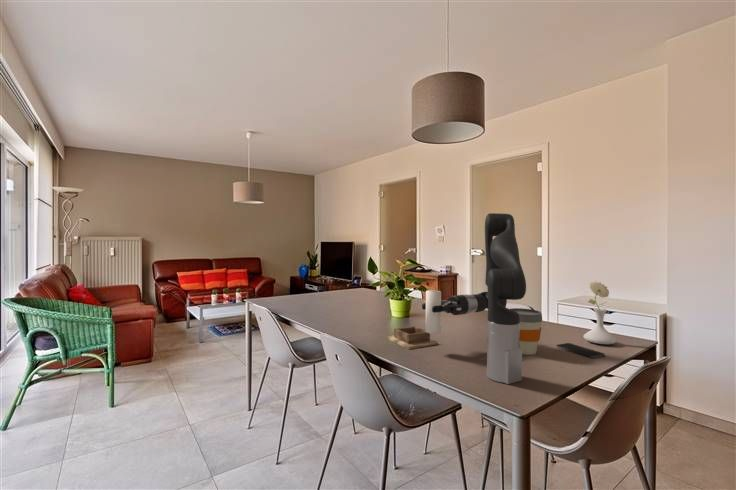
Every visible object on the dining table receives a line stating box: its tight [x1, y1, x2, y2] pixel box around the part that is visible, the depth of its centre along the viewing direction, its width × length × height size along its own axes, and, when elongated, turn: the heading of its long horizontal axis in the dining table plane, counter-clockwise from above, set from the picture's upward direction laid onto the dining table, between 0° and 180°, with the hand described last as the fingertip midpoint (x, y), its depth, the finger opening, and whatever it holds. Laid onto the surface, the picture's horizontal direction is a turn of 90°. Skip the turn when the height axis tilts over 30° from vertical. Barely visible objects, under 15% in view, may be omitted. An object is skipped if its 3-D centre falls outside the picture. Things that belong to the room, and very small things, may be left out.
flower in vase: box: [583, 280, 617, 345], centre depth 149 cm, size 13×11×25 cm
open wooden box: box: [386, 325, 439, 350], centre depth 148 cm, size 16×14×4 cm
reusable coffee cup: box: [510, 307, 543, 356], centre depth 137 cm, size 12×13×15 cm
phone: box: [556, 342, 606, 359], centre depth 137 cm, size 8×1×15 cm
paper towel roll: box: [424, 289, 442, 335], centre depth 134 cm, size 6×6×15 cm
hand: (427, 307), depth 133 cm, fingers closed on paper towel roll, 5 cm apart
